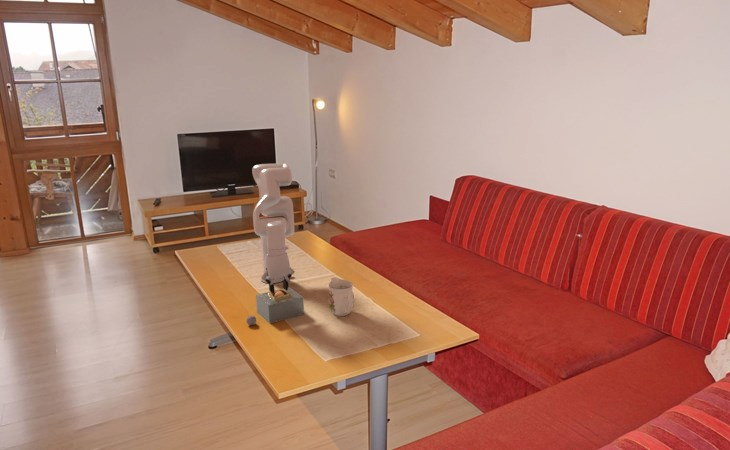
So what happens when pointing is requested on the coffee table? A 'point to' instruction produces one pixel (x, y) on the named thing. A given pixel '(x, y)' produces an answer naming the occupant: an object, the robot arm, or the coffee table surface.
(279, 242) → the robot arm
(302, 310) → the grey box with opening
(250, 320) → the bead
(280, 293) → the bead
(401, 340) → the coffee table surface
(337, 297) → the pitcher
